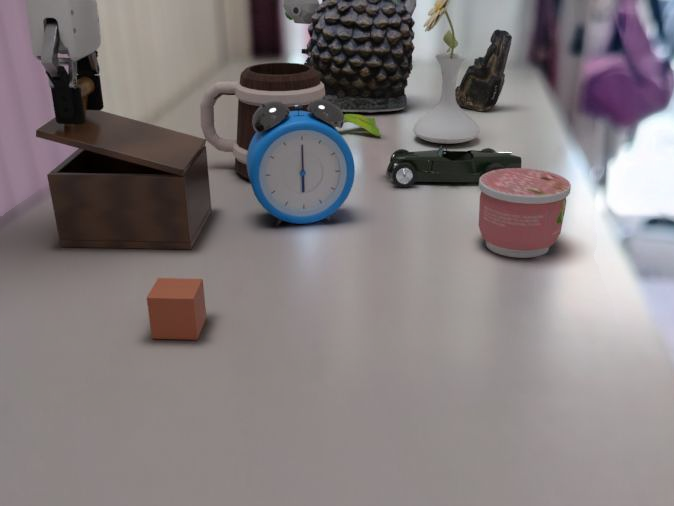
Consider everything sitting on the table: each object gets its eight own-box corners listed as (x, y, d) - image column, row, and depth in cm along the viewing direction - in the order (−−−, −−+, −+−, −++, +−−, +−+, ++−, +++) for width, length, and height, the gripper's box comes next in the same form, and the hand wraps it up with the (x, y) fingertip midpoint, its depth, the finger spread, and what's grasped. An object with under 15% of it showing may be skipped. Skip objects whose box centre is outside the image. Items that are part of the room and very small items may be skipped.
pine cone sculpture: (412, 100, 164) (417, -35, 151) (415, 118, 150) (422, -28, 138) (310, 99, 164) (307, -36, 151) (305, 117, 151) (302, -29, 138)
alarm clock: (253, 229, 101) (246, 109, 93) (249, 213, 106) (241, 97, 98) (355, 222, 103) (356, 104, 96) (345, 206, 108) (345, 92, 101)
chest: (60, 247, 96) (46, 174, 91) (94, 210, 107) (83, 143, 102) (191, 249, 95) (183, 177, 91) (211, 212, 106) (206, 145, 102)
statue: (462, 101, 163) (467, 22, 155) (511, 111, 155) (519, 29, 148) (444, 106, 159) (450, 25, 152) (494, 116, 152) (502, 32, 144)
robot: (361, 108, 186) (259, 37, 188) (397, 49, 180) (291, -23, 183) (348, 105, 175) (239, 30, 177) (386, 42, 169) (273, -35, 172)
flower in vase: (422, 129, 144) (429, -24, 131) (484, 134, 140) (498, -22, 128) (401, 148, 133) (407, -17, 121) (469, 154, 130) (482, -14, 117)
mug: (339, 158, 127) (339, 60, 120) (324, 189, 114) (323, 81, 107) (218, 153, 130) (210, 56, 122) (190, 183, 117) (179, 76, 109)
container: (506, 268, 91) (514, 201, 87) (457, 237, 99) (462, 174, 95) (580, 253, 95) (590, 188, 91) (526, 224, 103) (534, 163, 99)
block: (151, 339, 76) (146, 297, 74) (163, 317, 80) (158, 277, 78) (197, 340, 76) (193, 298, 74) (206, 318, 80) (202, 278, 78)
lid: (35, 136, 89) (38, 88, 86) (74, 109, 100) (78, 66, 97) (182, 176, 91) (190, 130, 88) (205, 145, 102) (212, 103, 99)
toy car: (384, 169, 123) (385, 137, 120) (514, 170, 123) (518, 138, 120) (387, 189, 114) (388, 155, 112) (526, 190, 115) (530, 156, 112)
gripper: (51, -60, 93) (74, 99, 102) (-13, -51, 78) (20, 134, 87) (115, -58, 93) (132, 101, 101) (63, -49, 78) (89, 136, 86)
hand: (80, 114), depth 94 cm, fingers closed on lid, 6 cm apart
